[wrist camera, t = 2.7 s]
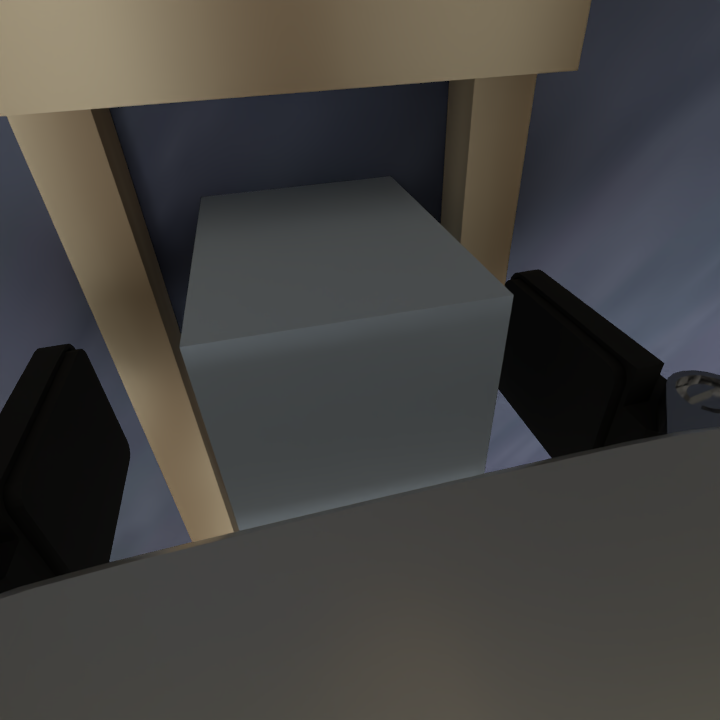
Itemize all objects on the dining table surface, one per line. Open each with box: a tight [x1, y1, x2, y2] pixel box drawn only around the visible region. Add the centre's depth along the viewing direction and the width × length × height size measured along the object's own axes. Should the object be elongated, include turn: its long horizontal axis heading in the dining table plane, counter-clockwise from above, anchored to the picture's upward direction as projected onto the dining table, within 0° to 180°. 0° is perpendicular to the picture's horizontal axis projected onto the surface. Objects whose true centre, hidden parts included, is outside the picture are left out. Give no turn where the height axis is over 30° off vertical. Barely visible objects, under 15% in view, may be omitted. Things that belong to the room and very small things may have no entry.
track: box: [0, 0, 591, 542], centre depth 16 cm, size 11×28×5 cm, turn 2°
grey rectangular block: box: [179, 176, 514, 531], centre depth 11 cm, size 5×5×7 cm
